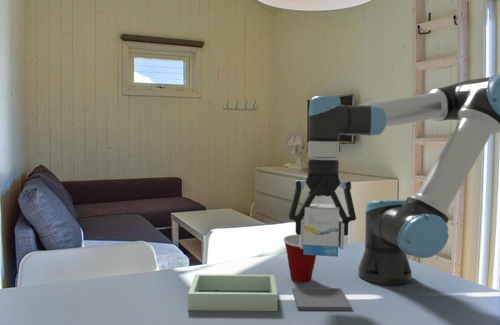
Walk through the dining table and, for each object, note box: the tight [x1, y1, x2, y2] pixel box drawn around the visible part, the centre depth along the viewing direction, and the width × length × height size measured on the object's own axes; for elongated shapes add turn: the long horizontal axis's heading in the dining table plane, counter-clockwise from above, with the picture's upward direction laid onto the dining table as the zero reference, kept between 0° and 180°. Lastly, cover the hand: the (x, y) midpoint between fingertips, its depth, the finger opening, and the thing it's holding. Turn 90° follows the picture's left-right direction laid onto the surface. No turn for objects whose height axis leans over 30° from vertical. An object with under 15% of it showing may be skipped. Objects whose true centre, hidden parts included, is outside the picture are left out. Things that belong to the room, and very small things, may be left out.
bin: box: [187, 273, 279, 312], centre depth 114 cm, size 21×15×4 cm
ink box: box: [303, 203, 340, 258], centre depth 113 cm, size 8×8×12 cm
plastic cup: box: [283, 234, 317, 283], centre depth 130 cm, size 11×11×12 cm
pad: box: [291, 287, 353, 311], centre depth 114 cm, size 13×13×1 cm
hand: (321, 247), depth 113 cm, fingers closed on ink box, 9 cm apart
